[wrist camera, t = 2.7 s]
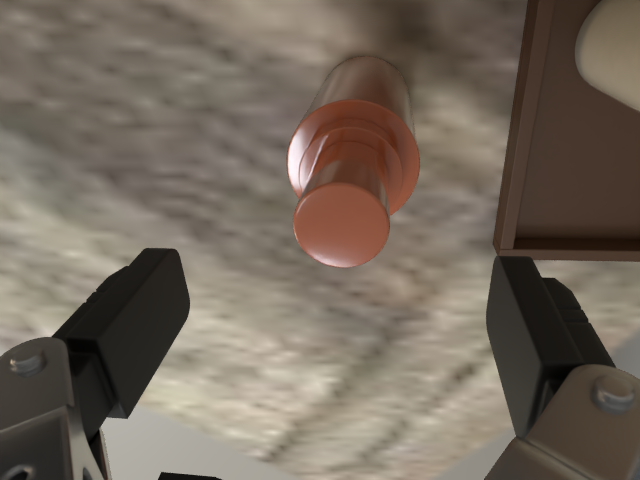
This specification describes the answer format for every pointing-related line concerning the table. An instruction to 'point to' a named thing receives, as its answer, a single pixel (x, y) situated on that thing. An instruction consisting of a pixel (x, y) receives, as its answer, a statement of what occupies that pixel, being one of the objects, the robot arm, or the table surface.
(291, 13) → the table surface
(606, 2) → the cream bottle
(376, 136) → the terracotta bottle
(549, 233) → the tray
